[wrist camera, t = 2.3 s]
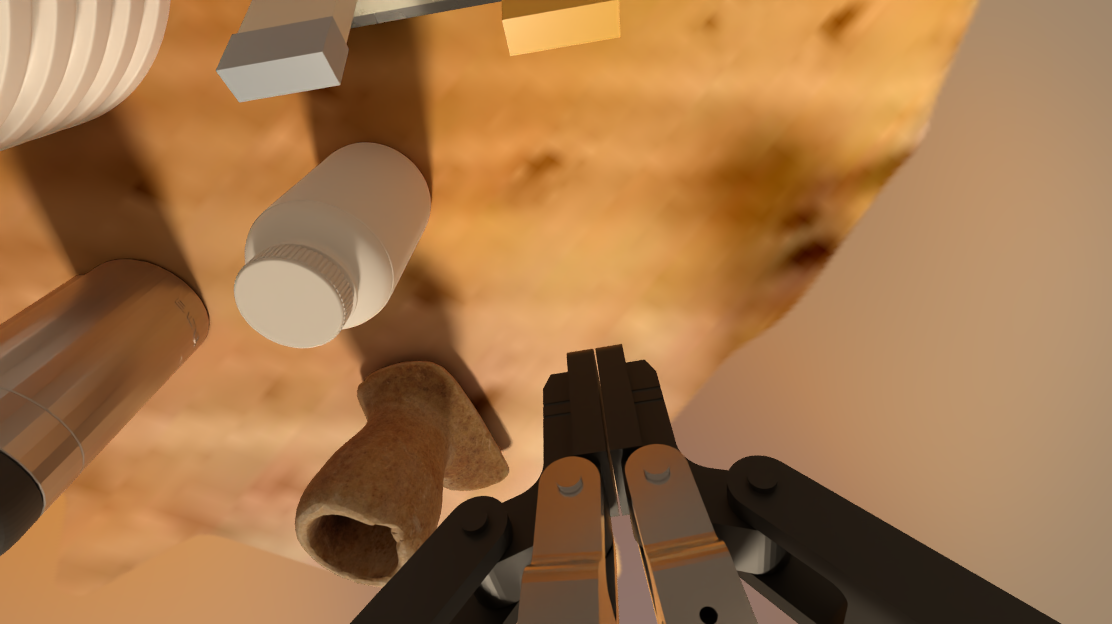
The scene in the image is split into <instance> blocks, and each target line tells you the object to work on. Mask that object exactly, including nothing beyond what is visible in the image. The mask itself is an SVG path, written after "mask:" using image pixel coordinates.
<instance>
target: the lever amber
mask: <svg viewBox="0 0 1112 624" xmlns="http://www.w3.org/2000/svg"><path fill="white" fill-rule="evenodd" d="M502 22H503V26H504V31H505V35H506V40H507V44H508V48H509V53H510V56H514V55H520V54H525V53H531V52H537V51H543V50H549V49H555V48H560V47H566V46H572V45H578V44H584V43H590V42H595V41H601V40H607V39H613V38H619V37H620V13H619V0H502Z"/></svg>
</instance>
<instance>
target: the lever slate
mask: <svg viewBox="0 0 1112 624" xmlns="http://www.w3.org/2000/svg"><path fill="white" fill-rule="evenodd" d="M356 4H357V0H252V2H251V4H250V6H249V8H248V11H247V13H246V15H245V17H244V20H243V22H242V24H241V26H240V29H239V31H238V33H237V34H232V36H231V38H230V40H229V42H228V45H227V47H226V49H225V51H224V53H223V56H222V58H221V60H220V62H219V64H218V67H217V69H216V72H217V73H218V74H219V76H220V77H221V78H222V80H223V81H224V82H225V84H226V85H227V86H228V88H229V89H230V90H231V92H232V93H233V94H234V96H235V97H236V98H237V100H238V101H239V102H244V101H250V100H256V99H262V98H268V97H273V96H279V95H285V94H291V93H297V92H303V91H309V90H314V89H320V88H326V87H332V86H338V85H340V84H341V80H342V76H343V72H344V68H345V64H346V60H347V56H348V51H349V48H348V46H347V40H348V36H349V32H350V28H351V24H352V20H353V16H354V12H355V8H356Z"/></svg>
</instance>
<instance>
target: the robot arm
mask: <svg viewBox="0 0 1112 624" xmlns="http://www.w3.org/2000/svg"><path fill="white" fill-rule="evenodd" d="M208 330H209V319H208V315H207V311H206V309H205V307H204V305H203V303H202V301H201V300H200V298H199V297H198V296H197V295H196V293H195V292H194V291H193V290H192V289H191V288H190V287H189V286H188V285H187V284H186V283H185V282H184V281H182V280H181V279H180V278H178V277H177V276H175V275H174V274H172V273H171V272H169V271H167V270H165V269H163V268H161V267H159V266H156V265H153V264H150V263H147V262H144V261H139V260H133V259H117V260H112V261H107V262H105V263H103V264H101V265H99V266H97V267H96V268H94V269H93V270H91V271H90V272H88V273H87V274H85V275H76V276H75V277H73V278H72V279H70V280H69V281H67V282H66V283H64V284H62V285H61V286H59V287H58V288H56V289H55V290H53V291H52V292H50V293H49V294H47V295H45V296H44V297H42V298H41V299H39V300H38V301H36V302H35V303H33V304H32V305H30V306H28V307H27V308H25V309H24V310H22V311H21V312H19V313H18V314H16V315H15V316H13V317H12V318H10V319H8V320H7V321H5V322H4V323H2V324H1V325H0V556H1V555H2V554H4V553H5V552H6V551H7V550H9V549H10V548H11V547H12V546H13V545H14V544H15V543H16V542H17V541H18V540H19V539H20V538H21V537H22V536H23V535H24V534H25V533H26V531H27V530H28V529H29V528H30V527H31V526H32V525H33V524H34V523H35V522H36V521H37V520H38V518H39V517H40V516H41V515H42V514H43V513H44V512H45V511H46V510H47V509H48V508H49V507H50V505H51V504H52V503H53V502H54V501H55V500H56V499H57V498H58V497H59V496H60V495H61V494H62V493H63V492H64V490H65V489H66V488H67V487H68V486H69V485H70V484H71V483H72V482H73V481H74V480H75V479H76V478H77V477H78V475H79V474H80V473H81V472H82V471H83V470H84V469H85V468H86V467H87V466H88V465H89V463H90V462H91V461H92V460H93V459H94V458H95V457H96V456H97V455H98V454H99V453H100V452H101V451H102V450H103V449H104V447H105V446H106V445H107V444H108V443H109V442H110V441H111V440H112V439H113V438H114V437H115V436H116V435H117V434H118V433H119V431H120V430H121V429H122V428H123V427H124V426H125V425H126V424H127V423H128V422H129V421H130V420H131V419H132V418H133V417H134V415H135V414H136V413H137V412H138V411H139V410H140V409H141V408H142V407H143V406H144V405H145V404H146V403H147V402H148V401H149V399H150V398H151V397H152V396H153V395H154V394H155V393H156V392H157V391H158V390H159V389H160V388H161V387H162V386H163V385H164V383H165V382H166V381H167V380H168V379H169V378H170V377H171V376H172V375H173V374H174V373H175V372H176V371H177V370H178V369H179V368H180V367H181V365H182V364H183V363H184V362H185V361H186V360H187V359H188V358H189V357H190V356H191V355H192V354H193V353H194V352H195V350H196V349H197V348H198V347H199V346H200V345H201V344H202V343H203V341H204V340H205V339H206V337H207V334H208ZM596 356H597V364H598V371H599V376H598V371H597V365H596V360H595V355H594V350H593V349H588V350H582V351H576V352H570V353H567V366H568V372H564V373H558V374H552V375H550V377H549V379H548V381H547V383H546V385H545V387H544V388H543V405H544V407H543V417H544V419H543V438H544V464H543V470H542V473H541V475H540V477H539V479H538V480H537V482H536V483H535V484H534V485H533V486H532V487H531V488H530V489H528V490H527V491H526V492H524V493H522V494H520V495H518V496H516V497H514V498H512V499H510V500H507V501H505V502H503V503H501V502H500V501H499V500H497V499H495V498H493V497H489V496H478V497H474V498H471V499H468V500H466V501H465V502H463V503H461V504H460V505H459V506H457V507H456V508H455V509H454V510H453V511H452V513H451V514H450V515H449V516H448V517H447V518H446V519H445V520H444V521H443V522H442V524H441V525H440V526H439V527H438V528H437V529H436V530H435V531H434V532H433V533H432V534H431V536H430V537H429V538H428V539H427V540H426V541H425V542H424V543H423V544H422V545H421V546H420V548H419V549H418V550H417V551H416V552H415V553H414V554H413V555H412V556H411V557H410V558H409V560H408V561H407V562H406V563H405V564H404V565H403V566H402V567H401V568H400V569H399V571H398V572H397V573H396V574H395V575H394V576H393V577H392V578H391V579H390V580H389V581H388V583H387V584H386V585H385V586H384V587H383V588H382V589H381V590H380V591H379V593H377V595H376V596H375V597H374V598H373V599H372V600H371V601H370V602H369V603H368V605H366V607H365V608H364V609H363V610H362V611H361V612H360V613H359V615H357V617H356V618H355V619H354V620H353V621H352V622H351V623H350V624H516V623H517V624H619V606H618V586H617V585H618V584H617V562H616V547H615V542H614V537H613V532H612V524H611V517H615V516H619V509H618V502H617V494H616V487H615V480H616V486H617V491H618V496H619V500H620V506H621V511H622V515H630V519H631V524H632V530H633V534H634V537H635V540H636V541H637V543H638V547H639V551H640V555H641V559H642V563H643V567H644V571H645V575H646V578H647V583H648V587H649V591H650V595H651V599H652V603H653V607H654V611H655V615H656V619H657V623H658V624H758V622H757V620H756V617H755V615H754V612H753V610H752V607H751V605H750V602H749V600H748V597H747V595H746V593H745V590H744V587H743V585H742V582H741V580H740V578H741V579H743V580H744V581H745V582H746V583H748V584H749V585H750V586H752V587H753V588H754V589H755V590H756V591H758V592H759V593H760V594H762V595H763V596H764V597H765V598H767V599H768V600H769V601H770V602H772V603H773V604H774V605H776V606H777V607H778V608H779V609H780V610H782V611H783V612H784V613H786V614H787V615H788V616H789V617H791V618H792V619H793V620H795V621H796V622H797V623H798V624H1061V623H1059V622H1057V621H1056V620H1054V619H1052V618H1050V617H1049V616H1047V615H1045V614H1044V613H1042V612H1040V611H1038V610H1036V609H1035V608H1033V607H1031V606H1030V605H1028V604H1026V603H1024V602H1023V601H1021V600H1019V599H1018V598H1015V597H1014V596H1012V595H1011V594H1009V593H1007V592H1005V591H1004V590H1002V589H1000V588H999V587H997V586H995V585H993V584H991V583H990V582H988V581H986V580H985V579H983V578H981V577H979V576H978V575H976V574H974V573H973V572H971V571H969V570H967V569H966V568H964V567H962V566H960V565H959V564H957V563H955V562H954V561H952V560H950V559H948V558H947V557H945V556H943V555H941V554H940V553H938V552H936V551H935V550H933V549H931V548H929V547H927V546H926V545H924V544H922V543H921V542H919V541H917V540H915V539H914V538H912V537H910V536H909V535H907V534H905V533H903V532H902V531H900V530H898V529H897V528H895V527H893V526H891V525H890V524H888V523H886V522H884V521H882V520H881V519H879V518H878V517H875V516H874V515H872V514H871V513H869V512H867V511H865V510H864V509H862V508H860V507H858V506H857V505H855V504H853V503H851V502H850V501H848V500H846V499H845V498H843V497H841V496H839V495H838V494H836V493H834V492H833V491H831V490H829V489H827V488H825V487H824V486H822V485H820V484H819V483H817V482H815V481H814V480H812V479H810V478H808V477H807V476H805V475H803V474H801V473H800V472H798V471H796V470H794V469H793V468H791V467H789V466H788V465H786V464H784V463H782V462H781V461H778V460H776V459H774V458H771V457H767V456H749V457H745V458H742V459H741V460H738V461H737V462H735V463H734V464H733V465H732V466H731V468H730V469H729V471H728V470H721V469H713V468H707V467H703V466H699V465H697V464H695V463H693V462H691V461H689V460H688V459H687V458H686V457H685V456H684V455H683V454H682V453H681V452H680V451H679V449H678V447H677V445H676V442H675V438H674V434H673V431H672V427H671V424H670V420H669V416H668V413H667V409H666V405H665V402H664V399H663V395H662V391H661V388H660V384H659V380H658V376H657V373H656V371H655V370H654V369H653V368H652V367H651V366H650V365H649V364H648V363H647V362H646V360H639V361H633V362H627V363H626V362H625V357H624V352H623V347H622V344H619V345H613V346H607V347H601V348H596ZM599 378H600V381H599ZM600 385H601V386H600ZM612 465H613V466H612ZM613 470H614V473H613ZM614 475H615V480H614Z"/></svg>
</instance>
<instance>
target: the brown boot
mask: <svg viewBox="0 0 1112 624" xmlns="http://www.w3.org/2000/svg"><path fill="white" fill-rule="evenodd" d="M357 397H358V400H359V403H360V405H361V407H362V409H363V412H364V414H365V416H366V419H367V424H366V425H365V426H364V427H363V429H362V430H360V431H359V432H358V433H357V434H356V435H355V436H354V437H352V438H351V439H350V440H349V441H348V442H346V443H345V444H344V445H343V446H342V447H341V448H339V449H338V450H337V451H336V452H335V453H334V454H333V455H332V457H331V458H330V459H329V460H328V461H327V462H326V464H325V465H324V466H323V467H322V468H321V470H320V471H319V472H318V473H317V474H316V475H315V477H314V478H313V479H312V480H311V482H310V483H309V485H308V486H307V487H306V489H305V491H304V493H303V495H302V496H301V499H300V502H299V504H298V507H297V511H296V518H295V530H296V535H297V539H298V540H299V542H300V544H301V546H302V547H303V548H304V550H305V551H306V552H307V553H308V554H309V555H310V556H311V557H312V558H313V559H314V560H315V561H316V562H317V563H319V564H320V565H321V566H323V567H324V568H326V569H327V570H329V571H331V572H332V573H334V574H336V575H337V576H340V577H342V578H345V579H348V580H352V581H354V582H356V583H358V584H364V585H368V586H375V587H384V586H385V585H386V584H387V583H388V581H389V580H390V579H391V578H392V577H393V576H394V575H395V574H396V573H397V572H398V571H399V569H400V568H401V567H402V566H403V565H404V564H405V563H406V562H407V561H408V560H409V558H410V557H411V556H412V555H413V554H414V553H415V552H416V551H417V550H418V549H419V548H420V546H421V545H422V544H423V543H424V542H425V541H426V540H427V539H428V538H429V537H430V536H431V534H432V533H433V532H434V531H435V530H436V529H437V525H438V521H439V518H440V514H441V508H442V493H443V487H445V488H447V489H450V490H458V491H470V490H477V489H481V488H485V487H488V486H490V485H493V484H496V483H498V482H500V481H502V480H503V479H504V478H505V477H506V476H507V475H508V473H509V467H508V465H507V462H506V461H505V459H504V457H503V455H502V453H501V451H500V449H499V447H498V445H497V444H496V442H495V440H494V439H493V437H492V435H491V434H490V432H489V430H488V428H487V427H486V425H485V423H484V421H483V420H482V418H481V416H480V415H479V413H478V412H477V410H476V408H475V407H474V405H473V404H472V402H471V401H470V399H469V398H468V396H467V395H466V394H465V392H464V391H463V389H462V388H461V386H460V385H459V384H458V382H457V381H456V380H455V379H454V377H453V376H452V375H451V374H450V373H449V372H448V371H446V370H445V369H444V368H443V367H442V366H440V365H438V364H436V363H433V362H429V361H409V362H402V363H397V364H393V365H390V366H387V367H385V368H382V369H379V370H377V371H375V372H373V373H371V374H370V375H369V376H368V377H367V378H366V379H365V381H364V382H362V383H361V384H360V385H359V386H358V390H357Z"/></svg>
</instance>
